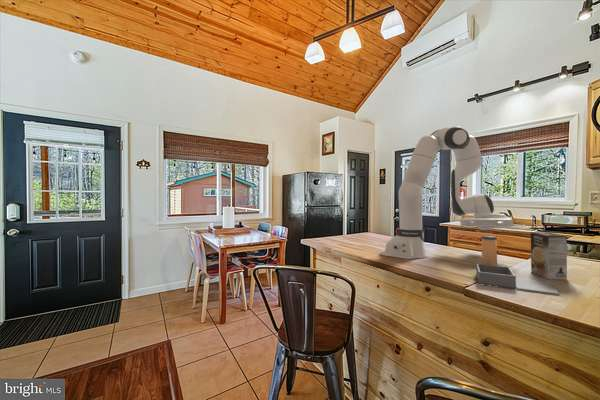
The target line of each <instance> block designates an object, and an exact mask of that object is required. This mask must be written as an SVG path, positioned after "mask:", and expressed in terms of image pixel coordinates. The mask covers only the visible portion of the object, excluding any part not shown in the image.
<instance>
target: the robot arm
mask: <svg viewBox="0 0 600 400" xmlns="http://www.w3.org/2000/svg"><path fill="white" fill-rule="evenodd" d="M441 150H443V151H450V150H452V151H453V154H454V158H455V167H454V169H453V170H451V174H450V187H451V188H450V191H451V192H450V194H451V200H450V209H451V212H452V213H453V214H454V215H456V216H460V217H461V216H465V215H472V214H473V215H472V217H463V218H460V220H459V223H460V227H476V228H477V229H478V230H481V231H487V230H488V231H489V230H493V229H504V228H505V229H506V228H513V227H514V219H513V218H512V217H510V216H507V215H506V214H501V213H494V211H495V207H494V202H493V200H492V199H491V197H490V196H489V195H488V194H486V193H478V194H473V195H467V196H461V193H460V192H461V191H460V190H461V189H460V188H461V187H460V184H461V182H462V181H463V180H464V179H466V178H468V177H469V176H471V175H473V174H474V173H476V172H478V170H480V168H481V167H482V164H483V159H482V154H481V150H480V146H479V144H478V142H477V139H476V138H475V137H474V136H473V135H470V134H469V132H468V131H467V130H466V129H465V128H464V127H463V126H462V127H461V126H452V127H444V128H441V129H437V130H435V131H433V132H431V134H430V135H424V136H422V137H420V139H419V140H418V142H417V144H416V146H415V147H414V150H413V151H412V155H411V157H410V160H409V163H408V166H407V168H406V171H405V174H404V177H403V179H402V183H401V185H400V187H399V189H398V209H399V210H398V213H399V215H398V216H399V227H397V228H396V230H395V235H394V236H393V237H391V239H389V240H387V242H386V243H385V248H384V249H383V250H381V251H380V255H382V256H386V257H392V258H400V259H407V260H413V259H423V258H426V257H427V253H426V250H425V246H424V245H425V244H424V240H425V239H424V238H425V237H424V236H425V234H424V229H423V190H424V187H425V185H426V182H427V180H428V178H429V176H430V173H431V171H432V168H433V166H434V162H435V160H436V158H437V155H438V153H439V152H440V151H441Z"/></svg>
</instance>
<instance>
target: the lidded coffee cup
mask: <svg viewBox="0 0 600 400" xmlns="http://www.w3.org/2000/svg"><path fill="white" fill-rule="evenodd" d="M480 238H481V264H485V265H495V266H498V244H497V243H498V241H497V239H498V236H495V235H481V236H480Z"/></svg>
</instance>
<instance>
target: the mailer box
mask: <svg viewBox="0 0 600 400" xmlns="http://www.w3.org/2000/svg"><path fill="white" fill-rule="evenodd" d="M475 267H476V269H475V270H476V277H477V282H478V285H479V284H484V285H483V286H486V285H491V286H490V287H493V286H498V287H497V288H500V287H502V289H510V290H515V289H516V288H517V289H516V290H517V291H524V292H529V293H530V292H532V293H537V294H538V293H540V294H546V295H554V296H560V292H559V291H557V289H556V288H555V287H554V286H552V284H550V282H549V281H546V280H545V281H544V280H538V279H537V280H536V279H528V278H520V277H517V276H516V275H515V273H514V272H513V270H512V269H511V267H510V266H505V265H504V266H503V265H497V266H495V265H485V264H482V263H476V266H475Z"/></svg>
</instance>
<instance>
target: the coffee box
mask: <svg viewBox="0 0 600 400" xmlns="http://www.w3.org/2000/svg"><path fill="white" fill-rule="evenodd" d="M567 238H568V236H567V235H563V234H558V233H554V232H550V231H549V232H548V231H547V232H544V231H543V232H540V231H538V232H537V231H535V232H530V269H531V270H530V271H532V272H531V273H533V272H534V274H536V275H538V276H540V277H543V278H545V279H547V280H568V256H567V255H568V249H567V248H568V244H567V242H568V239H567Z"/></svg>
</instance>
